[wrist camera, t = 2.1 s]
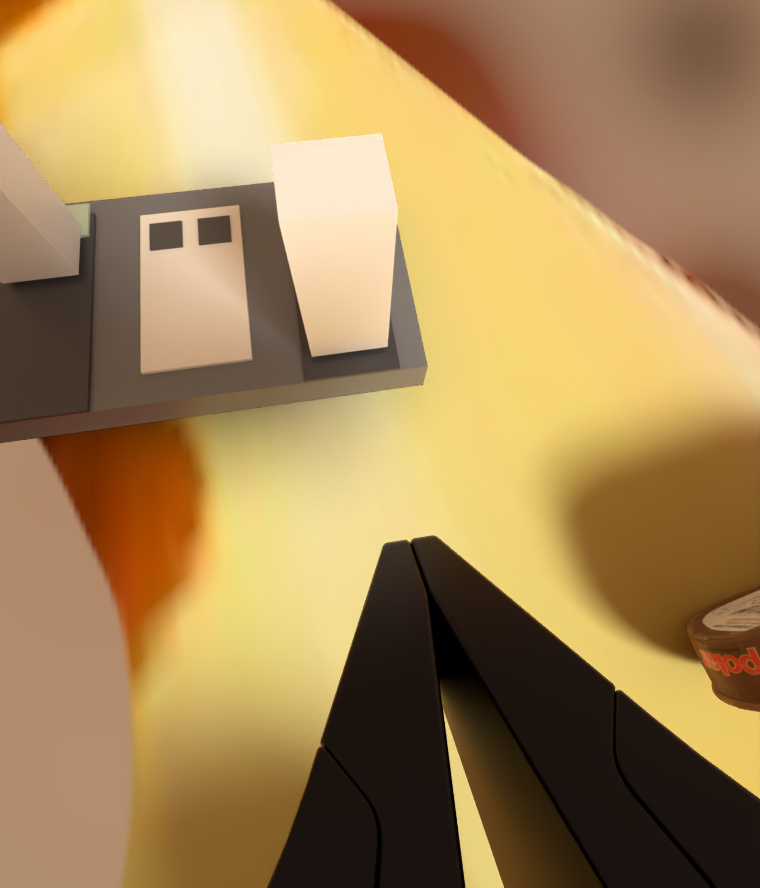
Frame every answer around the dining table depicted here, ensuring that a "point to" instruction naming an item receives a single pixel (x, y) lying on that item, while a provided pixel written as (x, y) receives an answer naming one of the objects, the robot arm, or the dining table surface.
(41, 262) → the tab grey
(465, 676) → the robot arm
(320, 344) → the tab offwhite
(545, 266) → the dining table surface
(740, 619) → the tin
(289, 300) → the switch bank
